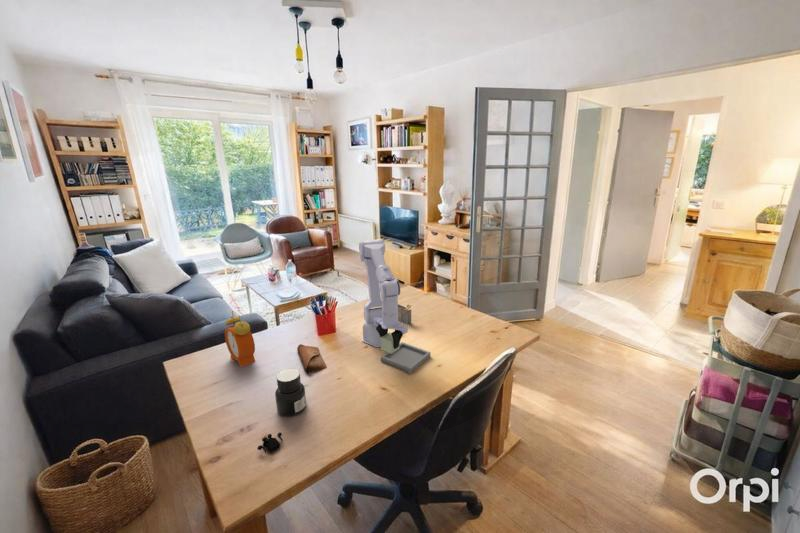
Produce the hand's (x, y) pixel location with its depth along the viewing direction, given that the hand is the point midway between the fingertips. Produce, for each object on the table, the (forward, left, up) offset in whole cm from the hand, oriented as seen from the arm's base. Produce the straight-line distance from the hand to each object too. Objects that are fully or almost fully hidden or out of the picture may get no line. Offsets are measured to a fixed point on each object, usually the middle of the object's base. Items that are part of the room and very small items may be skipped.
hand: (390, 345), depth 129 cm
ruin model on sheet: (-19, +34, -9) cm, 40 cm away
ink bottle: (-11, -37, -9) cm, 40 cm away
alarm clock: (-50, -31, -9) cm, 59 cm away
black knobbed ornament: (-2, -50, -9) cm, 51 cm away
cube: (0, 0, -1) cm, 1 cm away
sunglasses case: (-27, -15, -9) cm, 33 cm away
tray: (+2, +7, -8) cm, 11 cm away
